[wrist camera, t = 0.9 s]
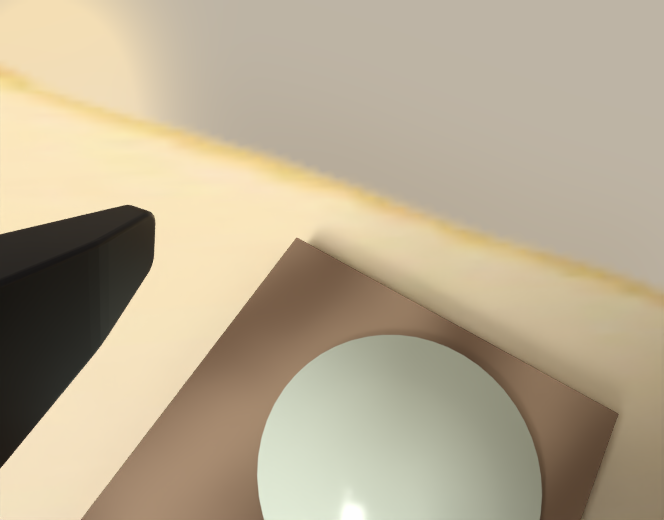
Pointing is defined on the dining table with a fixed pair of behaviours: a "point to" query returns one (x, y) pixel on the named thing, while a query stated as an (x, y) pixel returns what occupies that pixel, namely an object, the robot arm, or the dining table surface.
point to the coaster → (396, 439)
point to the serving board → (287, 360)
